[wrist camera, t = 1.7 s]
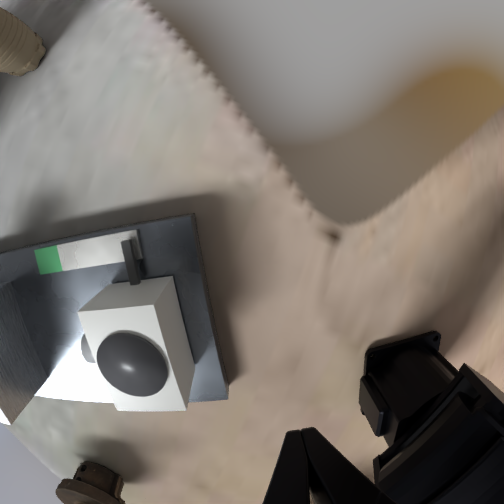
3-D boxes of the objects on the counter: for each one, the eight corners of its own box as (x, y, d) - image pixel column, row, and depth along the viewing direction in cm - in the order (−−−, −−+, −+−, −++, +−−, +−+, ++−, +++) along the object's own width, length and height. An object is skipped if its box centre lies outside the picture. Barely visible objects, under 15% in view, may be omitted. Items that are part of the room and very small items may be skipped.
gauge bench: (194, 213, 17) (161, 237, 10) (228, 385, 20) (225, 468, 13) (-10, 255, 17) (-75, 284, 10) (37, 385, 20) (-3, 436, 12)
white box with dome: (164, 232, 16) (139, 250, 11) (195, 367, 17) (186, 413, 13) (77, 247, 15) (37, 267, 11) (116, 371, 17) (93, 411, 13)
